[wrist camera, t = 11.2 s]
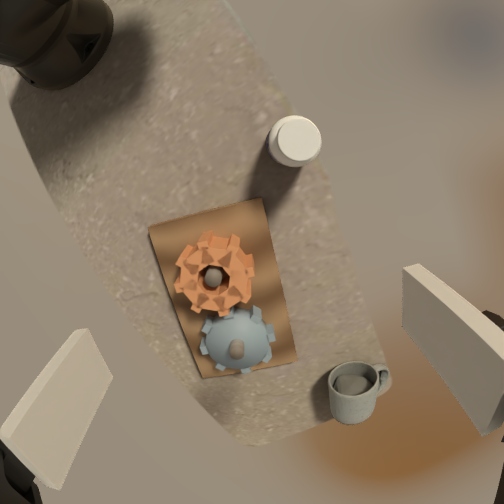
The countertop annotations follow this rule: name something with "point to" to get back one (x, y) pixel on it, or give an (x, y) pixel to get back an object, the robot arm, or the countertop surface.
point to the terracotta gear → (218, 255)
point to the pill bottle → (293, 141)
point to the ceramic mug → (355, 390)
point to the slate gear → (238, 327)
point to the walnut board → (262, 284)
